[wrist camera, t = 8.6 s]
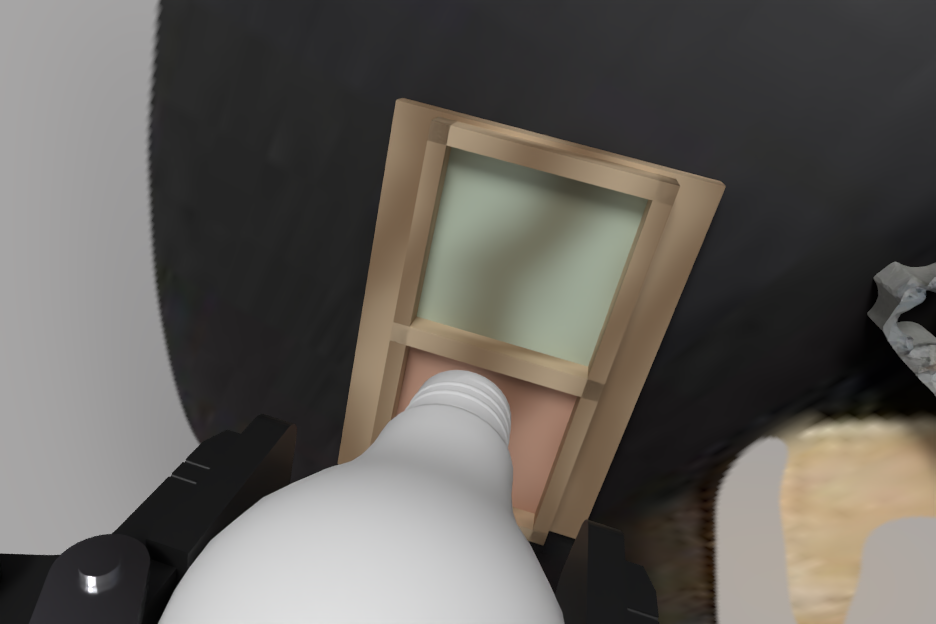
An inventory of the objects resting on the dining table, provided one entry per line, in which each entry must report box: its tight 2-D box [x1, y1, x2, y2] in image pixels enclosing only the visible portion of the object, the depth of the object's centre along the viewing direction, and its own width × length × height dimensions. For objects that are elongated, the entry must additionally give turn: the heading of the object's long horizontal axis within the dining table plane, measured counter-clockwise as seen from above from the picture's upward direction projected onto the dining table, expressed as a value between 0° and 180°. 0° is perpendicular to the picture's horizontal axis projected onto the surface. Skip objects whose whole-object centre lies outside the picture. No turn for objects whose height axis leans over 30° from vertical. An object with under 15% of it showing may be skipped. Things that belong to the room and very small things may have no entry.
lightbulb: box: [158, 370, 565, 624], centre depth 11 cm, size 6×6×11 cm
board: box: [338, 98, 726, 545], centre depth 29 cm, size 14×20×2 cm
